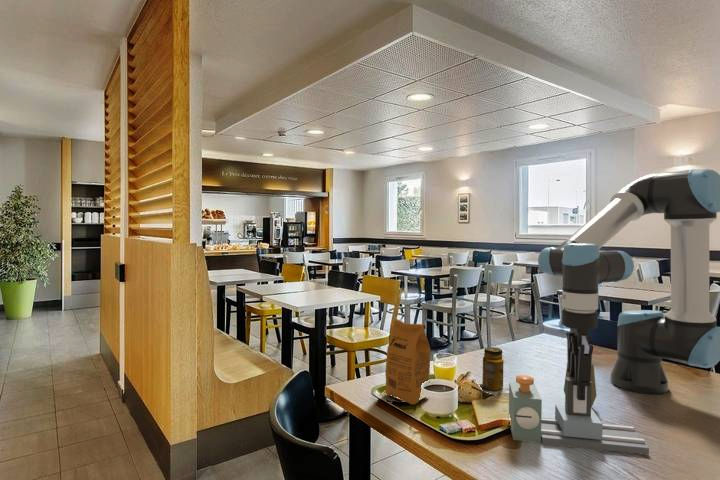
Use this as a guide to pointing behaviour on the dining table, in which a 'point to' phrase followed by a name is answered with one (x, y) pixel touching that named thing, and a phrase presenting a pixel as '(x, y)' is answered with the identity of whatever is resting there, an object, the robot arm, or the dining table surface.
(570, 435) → the carriage
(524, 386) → the button
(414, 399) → the coffee package
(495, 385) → the condiment
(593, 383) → the squeeze bottle
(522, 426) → the gauge cabinet
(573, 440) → the rail bed
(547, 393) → the dining table surface
